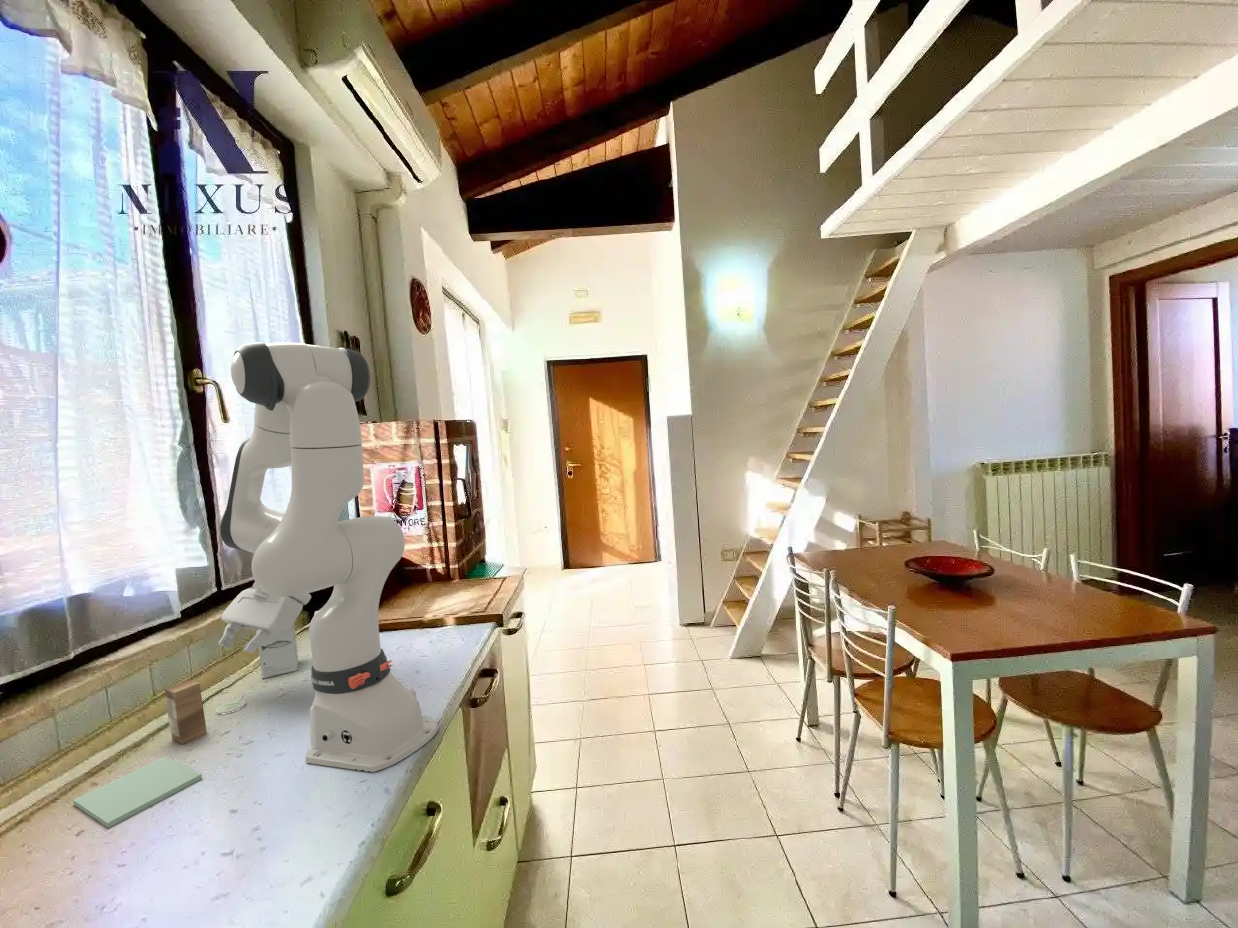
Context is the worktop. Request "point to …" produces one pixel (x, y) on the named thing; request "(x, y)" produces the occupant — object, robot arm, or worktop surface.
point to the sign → (230, 706)
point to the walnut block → (185, 711)
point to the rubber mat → (136, 791)
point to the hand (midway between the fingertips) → (234, 648)
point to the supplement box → (279, 654)
